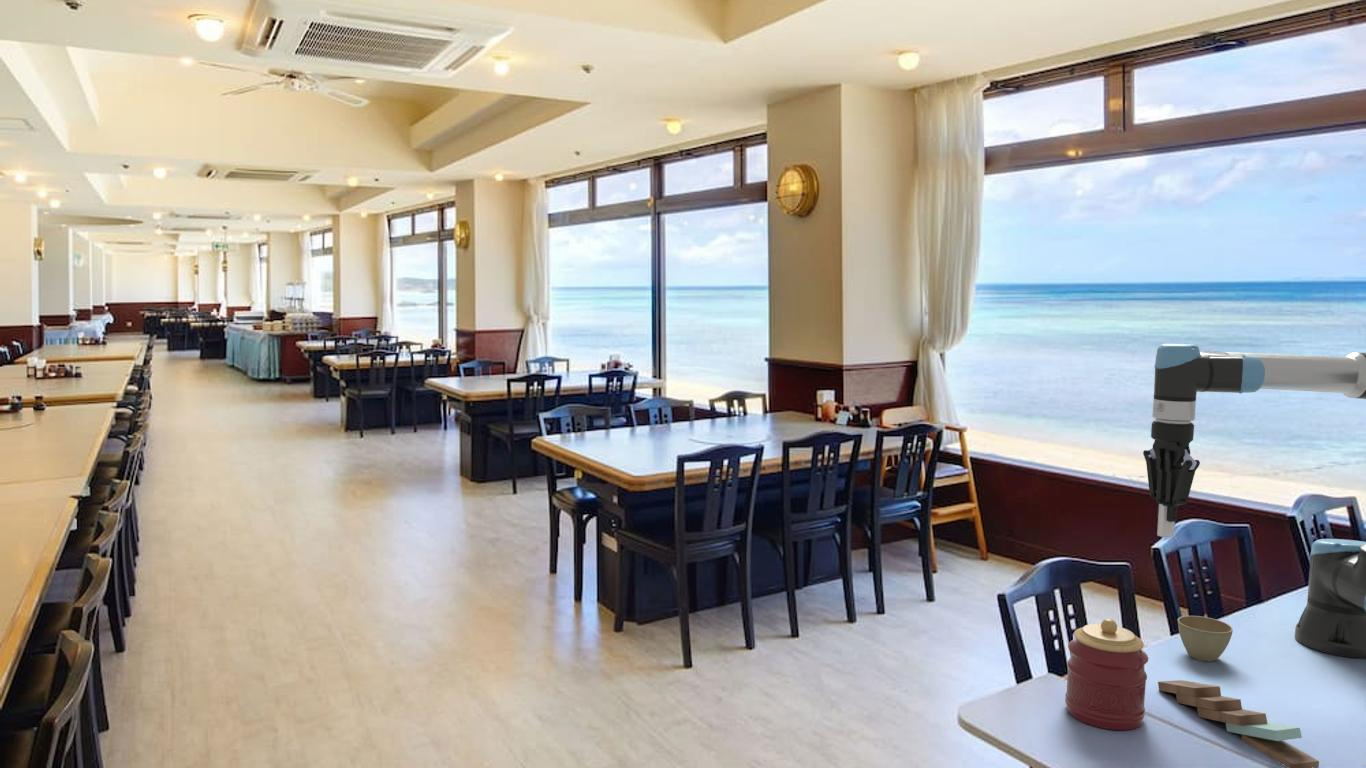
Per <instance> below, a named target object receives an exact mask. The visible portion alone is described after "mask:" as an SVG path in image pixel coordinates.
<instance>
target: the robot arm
mask: <svg viewBox="0 0 1366 768" xmlns="http://www.w3.org/2000/svg"><path fill="white" fill-rule="evenodd" d="M1153 384H1154V385H1153V387H1154V388H1153V402H1152V403H1153V405H1152V417H1153V419H1155V420H1152V422H1151V427H1150V428H1151V429H1150V430H1151V431H1150V437H1151V439H1153V440H1154V442H1153V444H1152V447H1151V448H1150V449H1144V450H1143V451H1142V455H1143V457H1144V460H1145V463H1146V474H1147V481H1148V490H1149V492H1148V493H1149V497H1150V498H1151V499H1154V500H1155V502H1156V503H1157V510H1156V511H1157V512H1156V517H1157V519H1158V520H1157V533H1156V534H1157V535H1156V536H1157V537H1161V538H1172V537H1175V529H1176V527H1175V526H1176V525H1175V524H1176V522H1177V520H1178V508H1179V506H1183V505H1186V504H1187V503H1188V499H1189V495H1190V492H1191V488H1192V484H1193V481H1194V477H1195V475H1196V471H1197V469H1198V468H1199V467H1200V465H1201V462H1200V460H1198V459H1194V458H1193V457H1192V456H1191V450H1190V443H1192V442H1193V441H1194V435H1195V432H1194V431H1195V424H1194V423H1193V422H1194V421H1195V419H1196V404H1197V393H1198V392H1199V393H1236V394H1237V393H1238V394H1243V393H1247V394H1248V393H1256V392H1257V391H1258V392H1259V390H1273V391H1274V390H1275V391H1293V392H1294V391H1296V392H1297V391H1298V392H1299V391H1300V392H1301V391H1302V392H1316V393H1317V392H1319V393H1339V394H1343V395H1344V396H1346V398H1350V399H1361V400H1366V352H1351V353H1348V354H1347V355H1346V356H1333V355H1331V356H1330V355H1305V354H1287V353H1286V354H1283V353H1281V354H1280V353H1261V352H1260V353H1259V352H1241V351H1239V352H1235V351H1214V350H1213V351H1212V350H1200V347H1199V346H1198V345H1197V344H1192V343H1191V344H1189V343H1162V344H1160V345H1159V346H1158V347H1157V349H1156V354H1155V363H1154V383H1153ZM1309 557H1310V560H1309V575H1308V589H1307V599H1306V600H1307V602H1306V606H1305V607H1304V609H1303V611H1302V613H1301V615H1300V617H1299V620H1298V623H1296V625H1295V629H1294V638H1295V641H1297V642H1299V643H1300V644H1302V645H1303V646H1306V647H1307V648H1311V649H1313V650H1315V651H1316V650H1317V651H1320V652H1322V653H1326V654H1330V655H1334V656H1340V657H1346V658H1347V657H1348V658H1357V659H1359V658H1360V659H1366V541H1363V540H1361V541H1360V540H1353V539H1344V538H1342V539H1339V538H1321V539H1317V540H1315V541H1313V542H1312V545H1311V551H1310V554H1309Z"/></svg>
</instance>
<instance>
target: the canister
mask: <svg viewBox="0 0 1366 768" xmlns="http://www.w3.org/2000/svg"><path fill="white" fill-rule="evenodd" d="M1073 637H1074V639H1072V640H1071V641H1069V642H1068V644H1067V648H1068V651H1069V652H1070V657H1069V659H1068V660H1067V663H1066V665H1067V679H1066V681H1067V682H1066V692H1065V698H1064V699H1065V700H1064V701H1065V705H1066V706H1065V707H1066V710H1067V712H1068V713H1069V715H1071V716H1072V717H1073V718H1075V719H1076V720H1078V721H1079V722H1082V723H1085V724H1087V725H1089V726H1093V727H1096V728H1100V729H1106V730H1112V731H1113V730H1114V731H1129V730H1134V729H1136V728H1139V727H1141V725H1142V724H1143V721H1144V719H1145V715H1146V713H1145V712H1146V708H1145V699H1146V698H1145V697H1146V682H1147V679H1148V675H1147V673H1146V671H1145V665H1146V664H1147V663H1148V661H1149V656H1148V654H1147V653H1146V652H1145V651H1144V650H1143V648H1144V646H1145V644H1144V641H1143V640H1142V639H1141V638H1140V637H1138V636H1137V635H1135V634H1134V632H1132V631H1131V630H1129V629H1127V628H1126V627H1125V628H1124V627H1122V626H1118V625H1117V622H1116V621H1115V620H1114V619H1113V618H1112V619H1111V618H1105V619H1103V620H1102V621H1101V623H1089V624H1086V625H1084V626H1082V627H1080V628H1077V629H1076V630H1075V631H1074V632H1073Z"/></svg>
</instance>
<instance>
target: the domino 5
mask: <svg viewBox="0 0 1366 768" xmlns="http://www.w3.org/2000/svg"><path fill="white" fill-rule="evenodd" d="M1241 741H1242V742H1244V743H1246V744H1247V745H1249V746H1250V747H1252V748H1254V749H1255V750H1256V751H1259V752H1260V751H1261V753H1262V752H1263V753H1262V754H1264V755H1266V754H1267V755H1268V756H1267V755H1266V756H1267V757H1269V758H1271V759H1272V760H1274V759H1275V760H1274V761H1275V762H1277V761H1278V762H1277V763H1279V762H1280V763H1279V764H1281V765H1282V764H1284V765H1285V766H1284V765H1283V766H1284V767H1286V766H1287V767H1289V768H1312V767H1318V768H1319V766H1320V760H1319V759H1316V758H1315V757H1313V756H1311V755H1310V754H1307V753H1306V752H1305V751H1303V750H1300V749H1298V748H1297V747H1295V746H1294V745H1291V744H1290V743H1288V742H1286V740H1281V741H1275V740H1269V739H1264V738H1259V737H1254V736H1249V735H1244V734H1241ZM1287 767H1286V768H1287Z"/></svg>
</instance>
